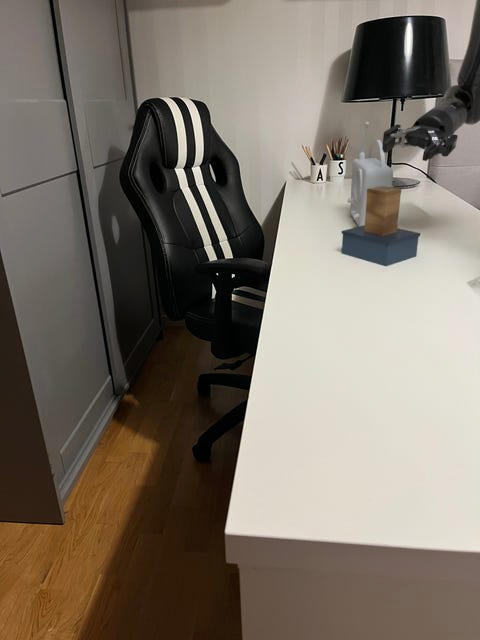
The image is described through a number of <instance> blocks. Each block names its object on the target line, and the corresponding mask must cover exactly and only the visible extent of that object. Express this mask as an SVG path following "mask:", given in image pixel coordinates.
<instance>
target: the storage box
mask: <svg viewBox="0 0 480 640" xmlns="http://www.w3.org/2000/svg"><path fill="white" fill-rule="evenodd" d="M364 228H365V225H363V226H356V227H352V228H347V229H343V230H341V234H342V242H341V243H342V244H341V254H343V255H346V256H350V257H354V258H356V259H360V260H364V261H368V262H371V263H375V264H377V265H381V266H385V267H387V266H390V265H394V264H396V263H400V262H403V261H406V260H409V259H412V258H415V257H417V254H418V253H417V252H418V245H419V238H420V236H421V232H417V231H412V230H407V229H403V228H398V227H397V232H396V233H392V234H389V235H385V236H381V235H377V234H372V233H368V232H364Z"/></svg>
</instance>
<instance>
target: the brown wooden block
mask: <svg viewBox="0 0 480 640" xmlns="http://www.w3.org/2000/svg"><path fill="white" fill-rule="evenodd" d="M401 194H402V188H400V187H393V186H392V187H385V186H379V187H373V188H368V189H367V201H366V215H365V228H364V232H368V233H372V234H377V235H381V236H385V235H389V234H392V233H396V232H397V228H398V224H399V215H400V205H401V196H402V195H401Z"/></svg>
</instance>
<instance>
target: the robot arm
mask: <svg viewBox="0 0 480 640" xmlns="http://www.w3.org/2000/svg"><path fill="white" fill-rule="evenodd" d="M474 4H475V5H474V10H473V16H472V22H471V27H470V34H469V39H468V43H467V48H466V49H465V50H466V51H465V54H464V56H463V60H462V63H461V65H460V68H459V71H458V74H457V78H456V81H457V82H456V83H457V84H454V85H452V86H450V87H449V88H448V89H447V90H446V92H445V93H444V95H443V96H442V99H441V102H440V104H438V105H436V106H435V107H433V108H431V109H430V110H428V111H427V112H425V113H424V114H423V115H421V116H419V118H417V119H416V121H415V122H414V123H413V125H412V126H411V127H407V128H406V129H405V128H404V129H403V128H401V126H402V125H401V124H395V125H393V126H391V127H389V128H388V129H386V130H385V131H384V132H383V136H382V145H383V146H382V150H383V152H384V154H385V153H386V154H387V153H388V152H390V151H391V150H392V149H393V148H395V147H400V148H401V149H403V148H409V147H413V148H416V147H418V148H419V149H422V150H423V154H422V162H423V161H424V162H427V161H428V160H431V159H433V158H435V157H437V156H438V157H439V155H441V157H443V158H444V157H448V156H449V155H450V154H451V153H452V152H454V150H455V149H456V147H457V141H458V134H455V132H457V131H458V130H459V129H460V128H461V127H462V126H463V125H464V124H465V125H467V126H472V125H476V124H478V123H479V122H480V0H475V3H474ZM396 140H397V141H396ZM405 141H406V142H405Z"/></svg>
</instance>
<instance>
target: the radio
mask: <svg viewBox="0 0 480 640" xmlns="http://www.w3.org/2000/svg"><path fill="white" fill-rule="evenodd" d="M364 123H365V124H364V131H363V132H364V133H363V139H362V145H361V150H360V153H358V158H354V160H353V161H352V164H351V182H350V183H351V184H350V185H351V187H350V189H351V190H350V197H348V198H347V203H349V204H350V208H349V210H350V211H349V212H350V215H351V217H352V218H353V220H354V222H355V223H356V225H357V227H359V226H363V225H365V215H366V201H367V189H368V188H373V187H379V186H385V187H392V188H393V180H394V170H393V168H392V167H390V166H389V165H387V164H386V156H385V152H383V150H382V146H383V141H381V140H380V139H374V140H373V141H372V142H371V145H370V148H369V151H368V155H367V158H366V153H365V152H364V151H365V145H366V139H367V134H368V127H369V126H370V122H369V121H366V122H364ZM376 144H377V145H378V148H379V153H380V160H379V159H378V158H376V157H372V156H373V153H374V152H373V151H374V148H375V146H376Z"/></svg>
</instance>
